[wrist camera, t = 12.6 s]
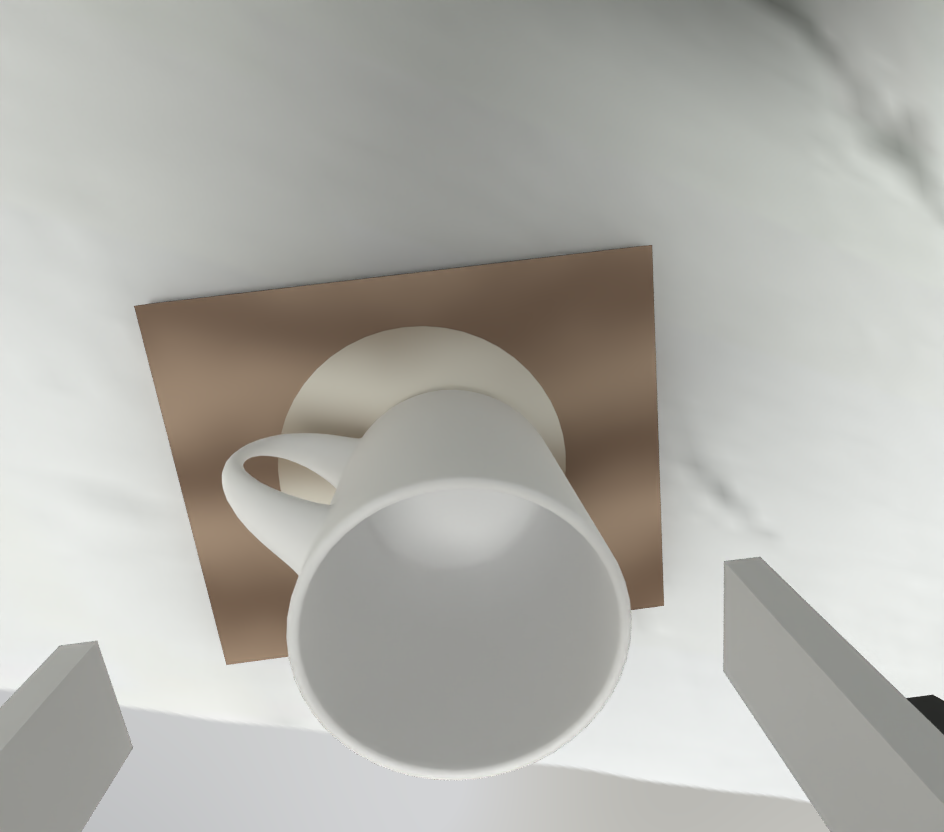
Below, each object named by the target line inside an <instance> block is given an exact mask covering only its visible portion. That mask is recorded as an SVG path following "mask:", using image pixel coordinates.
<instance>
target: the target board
mask: <svg viewBox="0 0 944 832" xmlns="http://www.w3.org/2000/svg"><path fill="white" fill-rule="evenodd" d="M134 307H135V311H136V315H137V319H138V323H139V327H140V331H141V335H142V339H143V342H144V346H145V350H146V354H147V358H148V362H149V366H150V370H151V374H152V377H153V381H154V385H155V389H156V393H157V397H158V401H159V405H160V408H161V412H162V416H163V420H164V424H165V428H166V432H167V436H168V440H169V443H170V447H171V451H172V455H173V459H174V463H175V467H176V471H177V474H178V478H179V482H180V486H181V490H182V494H183V498H184V502H185V506H186V509H187V513H188V517H189V521H190V525H191V529H192V533H193V537H194V541H195V544H196V548H197V552H198V556H199V560H200V564H201V568H202V572H203V575H204V579H205V583H206V587H207V591H208V595H209V599H210V603H211V607H212V610H213V614H214V618H215V622H216V626H217V630H218V634H219V638H220V641H221V645H222V649H223V653H224V657H225V661H226V665H229V664H236V663H244V662H251V661H259V660H266V659H273V658H281V657H288V648H287V639H286V635H287V616H288V611H289V606H290V600H291V596H292V593H293V591H294V588H295V585H296V582H297V579H298V577H299V576H298V574H297V573H296V572H295V571H294V570H293V569H292V568H291V567H290V566H289V565H287V564H286V563H285V562H284V561H283V560H281V559H280V558H279V557H278V556H277V555H275V554H274V553H273V552H272V551H271V550H270V549H268V548H267V547H266V546H265V545H264V544H263V543H261V542H260V541H259V540H258V539H257V538H256V537H255V536H254V535H253V534H252V533H251V532H250V531H249V530H248V529H247V528H246V527H245V525H244V524H243V523H242V522H241V521H240V519H239V518H238V517H237V516H236V514H235V512H234V511H233V509H232V507H231V506H230V504H229V503H228V501H227V499H226V496H225V493H224V490H223V486H222V471H223V469H224V466H225V463H226V461H227V460H228V459H229V458H230V457H231V455H232V454H234V453H235V452H236V451H238V450H239V449H240V448H242V447H244V446H245V445H247V444H249V443H252V442H254V441H257V440H259V439H263V438H267V437H271V436H276V435H281V434H291V433H319V434H330V435H338V436H344V437H350V438H362V437H363V435H364V434H365V433H366V431H367V430H368V429H369V428H370V427H371V426H372V424H373V423H374V422H375V421H376V420H377V419H378V418H380V417H381V416H382V415H383V414H384V413H385V412H387V411H388V410H389V409H391V408H392V407H394V406H396V405H397V404H399V403H400V402H403V401H405V400H407V399H409V398H412V397H414V396H417V395H420V394H423V393H427V392H432V391H438V390H465V391H472V392H476V393H481V394H484V395H487V396H490V397H492V398H495V399H497V400H499V401H501V402H503V403H505V404H507V405H509V406H510V407H512V408H513V409H514V410H516V411H517V412H519V413H520V414H521V415H522V416H523V417H524V418H525V419H526V420H527V421H529V422H530V423H531V425H532V426H533V427H534V428H535V429H536V431H537V432H538V433H539V434H540V436H541V437H542V438H543V440H544V441H545V443H546V445H547V446H548V448H549V450H550V451H551V453H552V455H553V456H554V458H555V460H556V461H557V463H558V465H559V466H560V468H561V470H562V471H563V473H564V475H565V476H566V478H567V479H568V481H569V483H570V484H571V486H572V488H573V489H574V491H575V493H576V494H577V496H578V498H579V499H580V501H581V503H582V504H583V506H584V508H585V509H586V511H587V513H588V514H589V516H590V518H591V519H592V521H593V522H594V524H595V526H596V527H597V529H598V531H599V532H600V534H601V536H602V537H603V539H604V541H605V542H606V544H607V546H608V547H609V549H610V551H611V552H612V554H613V556H614V557H615V559H616V561H617V562H618V565H619V567H620V570H621V572H622V575H623V577H624V579H625V583H626V587H627V591H628V595H629V599H630V607H631V610H635V609H643V608H650V607H657V606H664V594H663V563H662V533H661V502H660V472H659V441H658V411H657V380H656V350H655V319H654V289H653V258H652V245H648V246H637V247H629V248H620V249H612V250H603V251H595V252H586V253H578V254H569V255H561V256H552V257H544V258H535V259H527V260H518V261H509V262H501V263H492V264H484V265H475V266H467V267H458V268H450V269H441V270H433V271H424V272H416V273H407V274H399V275H390V276H382V277H373V278H365V279H356V280H348V281H339V282H331V283H322V284H314V285H305V286H297V287H288V288H280V289H271V290H263V291H254V292H246V293H237V294H229V295H220V296H212V297H203V298H195V299H186V300H178V301H169V302H161V303H152V304H145V305H138V306H134ZM243 467H244V469H245V471H246V472H247V473H249V474H250V475H251V476H252V477H253V478H255V479H256V480H258V481H259V482H261V483H263V484H265V485H267V486H269V487H271V488H273V489H276V490H278V491H281V492H283V493H286V494H289V495H292V496H295V497H298V498H301V499H305V500H309V501H312V502H316V503H321V504H328V505H330V503H331V500H332V498H333V496H334V494H335V491H336V488H335V487H334V486H333V485H332V484H331V483H329V482H328V481H327V480H325V479H324V478H323V477H321V476H320V475H318V474H317V473H315V472H314V471H312V470H310V469H308V468H307V467H305V466H302V465H300V464H298V463H296V462H293V461H290V460H287V459H284V458H280V457H273V456H256V457H251V458H249V459H247V460H246V461H245V462H244V464H243Z"/></svg>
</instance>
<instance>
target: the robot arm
mask: <svg viewBox="0 0 944 832" xmlns="http://www.w3.org/2000/svg"><path fill="white" fill-rule="evenodd" d="M723 671H724V673H725V674H726V676H727V677H728V679H729V680H730V682H731V683H732V685H733V686H734V688H735V689H736V691H737V692H738V694H739V695H740V697H741V698H742V700H743V701H744V703H745V704H746V706H747V707H748V709H749V710H750V712H751V713H752V715H753V716H754V718H755V719H756V721H757V722H758V724H759V725H760V727H761V728H762V730H763V731H764V733H765V734H766V736H767V737H768V739H769V740H770V742H771V743H772V745H773V746H774V748H775V749H776V751H777V752H778V754H779V755H780V757H781V758H782V760H783V761H784V763H785V764H786V766H787V767H788V769H789V770H790V772H791V773H792V775H793V776H794V778H795V779H796V781H797V782H798V784H799V785H800V787H801V788H802V790H803V791H804V793H805V794H806V796H807V797H808V799H809V800H810V802H811V803H812V805H813V806H814V808H815V809H816V811H817V812H818V814H819V815H820V817H821V818H822V820H823V821H824V823H825V824H826V826H827V827H828V829H829V830H830V832H944V701H943V700H941V699H940V698H938V697H936V696H934V695H927V696H920V697H912V698H905V697H904V696H903V695H902V694H901V693H900V692H899V691H898V690H897V689H896V688H895V687H894V686H893V685H892V684H891V683H890V682H889V681H888V680H887V679H886V678H885V677H884V676H882V675H881V674H880V673H879V672H878V671H877V670H876V669H875V668H874V667H873V666H872V665H871V664H870V663H869V662H868V661H867V660H866V659H865V658H864V657H863V656H862V655H861V654H860V653H859V652H858V651H857V650H856V649H855V648H854V647H853V646H852V645H850V644H849V643H848V642H847V641H846V640H845V639H844V638H843V637H842V636H841V635H840V634H839V633H838V632H837V631H836V630H835V629H834V628H833V627H832V626H831V625H830V624H829V623H828V622H827V621H826V620H825V619H824V618H823V617H822V616H821V615H820V614H818V613H817V612H816V611H815V610H814V609H813V608H812V607H811V606H810V605H809V604H808V603H807V602H806V601H805V600H804V599H803V598H802V597H801V596H800V595H799V594H798V593H797V592H796V591H795V590H794V589H793V588H792V587H791V586H790V585H789V584H788V583H786V582H785V581H784V580H783V579H782V578H781V577H780V576H779V575H778V574H777V573H776V572H775V571H774V570H773V569H772V568H771V567H770V566H769V565H768V564H767V563H766V562H765V561H764V560H763V559H762V558H761V557H755V558H747V559H739V560H731V561H724V643H723ZM132 749H133V746H132V744H131V740H130V737H129V734H128V731H127V728H126V726H125V723H124V719H123V717H122V714H121V710H120V707H119V705H118V702H117V699H116V696H115V693H114V690H113V687H112V684H111V681H110V678H109V675H108V672H107V669H106V666H105V663H104V660H103V657H102V654H101V651H100V648H99V645H98V642H97V641H92V642H84V643H77V644H69V645H61V646H59V647H58V648H57V649H56V650H55V651H54V652H53V653H52V654H51V655H50V656H49V657H48V658H47V659H46V660H45V662H44V663H43V664H42V665H41V666H40V667H39V668H38V669H37V670H36V671H35V672H34V673H33V674H32V675H31V676H30V677H29V678H28V679H27V680H26V681H25V682H24V683H23V684H22V686H21V687H20V688H19V689H18V690H17V691H16V692H15V693H14V694H13V695H12V696H11V697H10V698H9V699H8V700H7V701H6V702H5V703H4V704H3V705H2V706H1V708H0V832H81V831H82V830H83V828H84V826H85V825H86V823H87V822H88V820H89V818H90V817H91V815H92V814H93V812H94V810H95V809H96V807H97V805H98V804H99V802H100V801H101V799H102V797H103V796H104V794H105V793H106V791H107V789H108V788H109V786H110V784H111V783H112V781H113V779H114V778H115V776H116V775H117V773H118V771H119V770H120V768H121V766H122V765H123V763H124V762H125V760H126V758H127V757H128V755H129V754H130V752H131V750H132Z"/></svg>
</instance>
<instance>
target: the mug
mask: <svg viewBox="0 0 944 832" xmlns="http://www.w3.org/2000/svg"><path fill="white" fill-rule="evenodd" d="M256 456H273V457H280V458H284V459H287V460H290V461H293V462H296V463H298V464H300V465H302V466H305V467H307V468H308V469H310V470H312V471H314V472H315V473H317V474H318V475H320V476H321V477H323V478H324V479H325V480H327V481H328V482H329V483H331V484H332V485H333V486H334V487H335V488H336V491H335V494H334V496H333V498H332V500H331V503H330V505H328V504H321V503H316V502H312V501H309V500H305V499H301V498H298V497H295V496H292V495H289V494H286V493H283V492H281V491H278V490H276V489H273V488H271V487H269V486H267V485H265V484H263V483H261V482H259V481H258V480H256V479H255V478H253V477H252V476H251V475H250V474H249V473H247V472H246V471H245V469H244V467H243V464H244V462H245V461H246V460H247V459H249V458H251V457H256ZM222 486H223V490H224V493H225V496H226V499H227V501H228V503H229V504H230V506H231V507H232V509H233V511H234V512H235V514H236V516H237V517H238V518H239V519H240V521H241V522H242V523H243V524H244V525H245V527H246V528H247V529H248V530H249V531H250V532H251V533H252V534H253V535H254V536H255V537H256V538H257V539H258V540H259V541H260V542H261V543H263V544H264V545H265V546H266V547H267V548H268V549H270V550H271V551H272V552H273V553H274V554H275V555H277V556H278V557H279V558H280V559H281V560H283V561H284V562H285V563H286V564H287V565H289V566H290V567H291V568H292V569H293V570H294V571H295V572H296V573H297V574H298V576H299V577H298V579H297V582H296V585H295V588H294V591H293V593H292V596H291V600H290V606H289V611H288V616H287V635H286V639H287V648H288V657H289V661H290V665H291V668H292V672H293V676H294V679H295V681H296V684H297V686H298V688H299V690H300V693H301V695H302V697H303V699H304V700H305V702H306V704H307V705H308V707H309V708H310V710H311V712H312V713H313V715H314V716H315V717H316V718H317V719H318V721H319V722H320V723H321V724H322V725H323V727H324V728H325V729H326V730H327V731H328V732H329V733H330V734H331V735H333V736H334V737H335V738H336V739H337V740H338V741H339V742H340V743H342V744H343V745H345V746H346V747H347V748H349V749H350V750H352V751H353V752H354V753H356V754H357V755H359V756H361V757H363V758H365V759H367V760H369V761H371V762H372V763H374V764H377V765H379V766H382V767H384V768H387V769H389V770H392V771H395V772H399V773H403V774H407V775H410V776H414V777H421V778H427V779H434V780H469V779H480V778H485V777H491V776H497V775H500V774H504V773H507V772H510V771H514V770H518V769H520V768H522V767H525V766H527V765H530V764H532V763H535V762H537V761H539V760H541V759H543V758H544V757H546V756H548V755H550V754H552V753H554V752H555V751H557V750H558V749H560V748H561V747H563V746H564V745H565V744H567V743H568V742H570V741H571V740H572V739H573V738H575V737H576V736H577V735H578V734H579V733H580V732H581V731H583V730H584V729H585V728H586V727H587V726H588V725H589V724H590V722H591V721H592V720H593V719H594V718H595V717H596V716H597V715H598V714H599V712H600V711H601V710H602V708H603V707H604V705H605V704H606V702H607V701H608V699H609V698H610V697H611V695H612V693H613V691H614V689H615V687H616V685H617V683H618V681H619V679H620V677H621V674H622V671H623V668H624V665H625V663H626V659H627V654H628V650H629V645H630V639H631V622H632V618H631V607H630V599H629V595H628V591H627V587H626V583H625V579H624V577H623V575H622V572H621V570H620V567H619V565H618V562H617V561H616V559H615V557H614V556H613V554H612V552H611V551H610V549H609V547H608V546H607V544H606V542H605V541H604V539H603V537H602V536H601V534H600V532H599V531H598V529H597V527H596V526H595V524H594V522H593V521H592V519H591V518H590V516H589V514H588V513H587V511H586V509H585V508H584V506H583V504H582V503H581V501H580V499H579V498H578V496H577V494H576V493H575V491H574V489H573V488H572V486H571V484H570V483H569V481H568V479H567V478H566V476H565V475H564V473H563V471H562V470H561V468H560V466H559V465H558V463H557V461H556V460H555V458H554V456H553V455H552V453H551V451H550V450H549V448H548V446H547V445H546V443H545V441H544V440H543V438H542V437H541V436H540V434H539V433H538V432H537V431H536V429H535V428H534V427H533V426H532V425H531V423H530V422H529V421H527V420H526V419H525V418H524V417H523V416H522V415H521V414H520V413H519V412H517V411H516V410H514V409H513V408H512V407H510V406H509V405H507V404H505V403H503V402H501V401H499V400H497V399H495V398H492V397H490V396H487V395H484V394H481V393H476V392H472V391H465V390H438V391H432V392H427V393H423V394H420V395H417V396H414V397H412V398H409V399H407V400H405V401H403V402H400V403H399V404H397V405H396V406H394V407H392V408H391V409H389V410H388V411H387V412H385V413H384V414H383V415H382V416H381V417H380V418H378V419H377V420H376V421H375V422H374V423H373V424H372V426H371V427H370V428H369V429H368V430H367V431H366V433H365V434H364V435H363V437H362V438H350V437H344V436H338V435H330V434H319V433H291V434H281V435H276V436H271V437H267V438H263V439H259V440H257V441H254V442H252V443H249V444H247V445H245V446H244V447H242V448H240V449H239V450H238V451H236V452H235V453H234V454H232V455H231V457H230V458H229V459H228V460H227V461H226V463H225V466H224V469H223V471H222Z"/></svg>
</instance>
